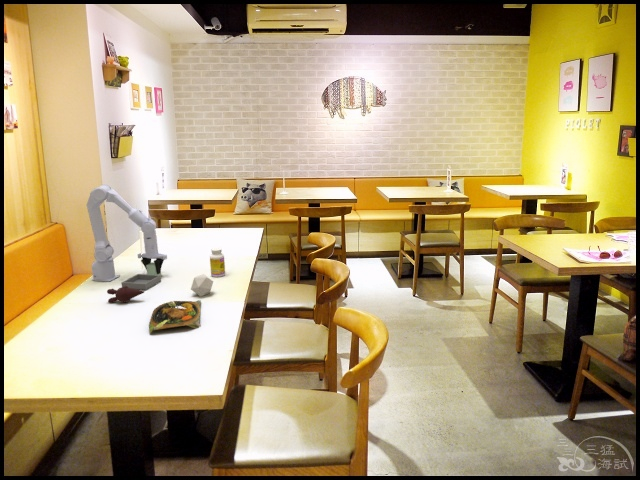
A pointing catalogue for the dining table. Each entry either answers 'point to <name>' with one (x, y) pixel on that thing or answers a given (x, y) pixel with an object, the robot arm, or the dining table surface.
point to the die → (202, 285)
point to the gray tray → (142, 281)
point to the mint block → (151, 269)
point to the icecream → (123, 294)
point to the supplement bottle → (217, 263)
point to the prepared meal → (175, 315)
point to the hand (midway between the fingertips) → (154, 273)
